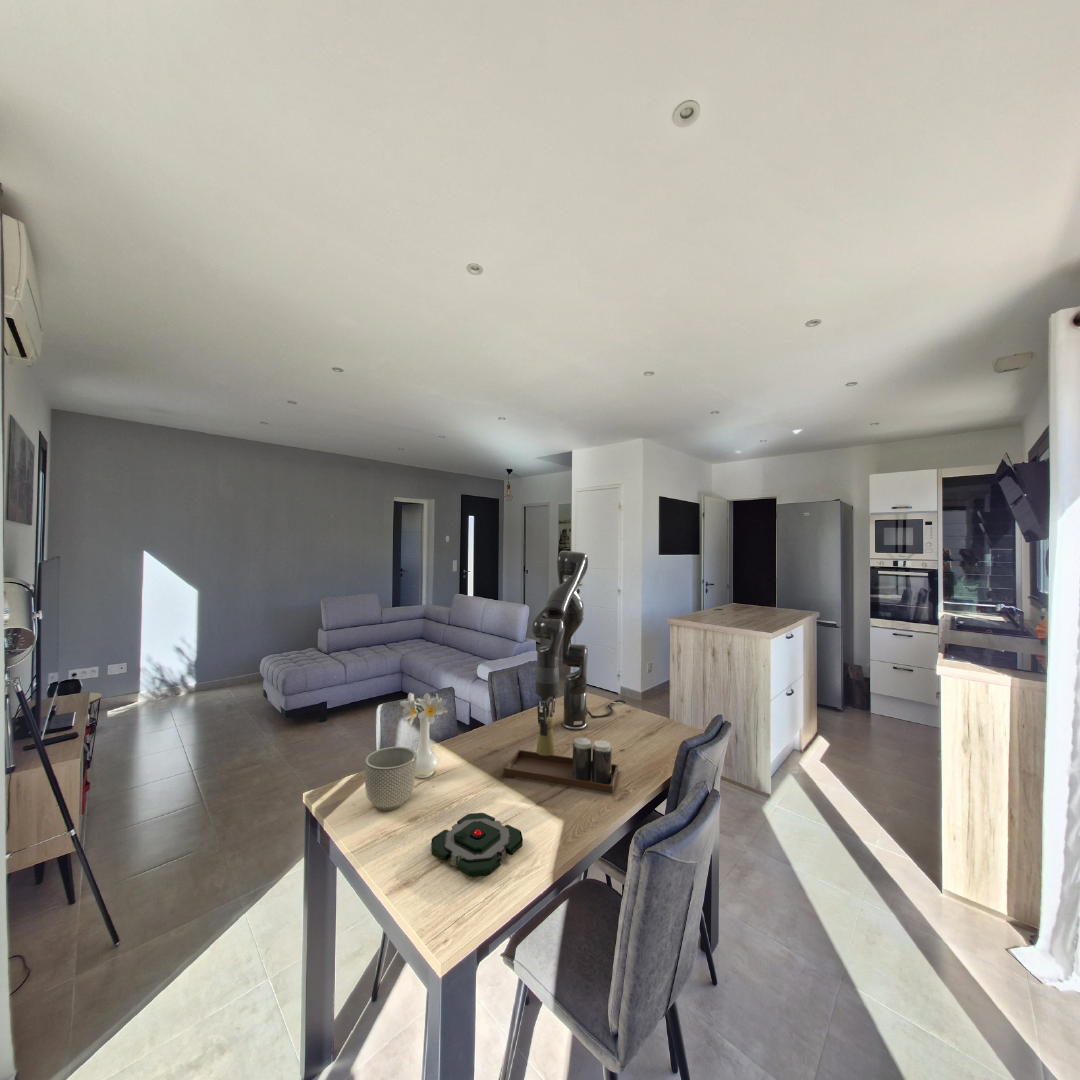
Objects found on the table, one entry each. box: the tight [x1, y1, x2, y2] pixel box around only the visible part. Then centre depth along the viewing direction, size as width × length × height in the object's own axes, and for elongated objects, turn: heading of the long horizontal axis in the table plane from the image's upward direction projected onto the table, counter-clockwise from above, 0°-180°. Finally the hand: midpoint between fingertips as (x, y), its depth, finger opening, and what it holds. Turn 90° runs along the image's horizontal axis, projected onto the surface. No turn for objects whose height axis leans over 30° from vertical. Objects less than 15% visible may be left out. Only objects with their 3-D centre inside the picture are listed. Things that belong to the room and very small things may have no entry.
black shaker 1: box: [572, 737, 593, 781], centre depth 143 cm, size 6×6×11 cm
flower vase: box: [399, 692, 449, 779], centre depth 144 cm, size 13×18×25 cm
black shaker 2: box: [592, 739, 613, 784], centre depth 141 cm, size 6×6×11 cm
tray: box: [503, 749, 619, 794], centre depth 145 cm, size 14×34×2 cm, turn 74°
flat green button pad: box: [430, 812, 524, 878], centre depth 107 cm, size 18×18×5 cm
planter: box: [363, 746, 417, 812], centre depth 126 cm, size 14×14×13 cm
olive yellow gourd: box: [535, 717, 556, 756], centre depth 147 cm, size 6×6×11 cm
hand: (546, 731), depth 147 cm, fingers closed on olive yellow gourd, 5 cm apart
